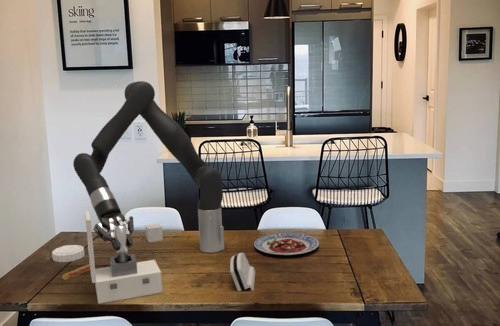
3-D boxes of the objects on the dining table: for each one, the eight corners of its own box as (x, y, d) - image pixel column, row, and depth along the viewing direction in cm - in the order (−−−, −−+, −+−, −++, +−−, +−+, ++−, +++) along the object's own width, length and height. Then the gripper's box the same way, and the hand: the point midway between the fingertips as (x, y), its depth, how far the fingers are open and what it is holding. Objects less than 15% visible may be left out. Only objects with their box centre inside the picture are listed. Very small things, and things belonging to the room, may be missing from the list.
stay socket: (134, 265, 168) (133, 253, 168) (137, 273, 161) (136, 261, 161) (110, 268, 166) (109, 257, 165) (112, 277, 159) (112, 265, 158)
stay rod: (127, 258, 165) (125, 223, 163) (129, 262, 162) (126, 226, 160) (116, 260, 164) (113, 224, 162) (117, 263, 161) (114, 227, 159)
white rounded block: (253, 291, 162) (241, 263, 160) (239, 296, 162) (228, 268, 161) (255, 271, 178) (245, 245, 177) (243, 275, 179) (232, 250, 177)
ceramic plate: (332, 249, 198) (332, 242, 198) (280, 264, 184) (280, 257, 184) (291, 233, 219) (291, 227, 219) (241, 246, 205) (241, 239, 205)
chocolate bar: (61, 279, 177) (60, 273, 177) (88, 268, 187) (88, 262, 187) (66, 281, 176) (65, 275, 176) (93, 269, 186) (93, 263, 185)
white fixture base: (155, 278, 174) (150, 203, 169) (162, 293, 162) (157, 212, 158) (91, 289, 167) (84, 210, 162) (94, 305, 155) (86, 220, 151)
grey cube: (159, 236, 221) (159, 223, 220) (162, 240, 215) (161, 226, 214) (146, 238, 219) (145, 225, 218) (148, 242, 213) (147, 228, 212)
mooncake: (53, 254, 203) (52, 246, 202) (84, 250, 206) (83, 242, 206) (51, 264, 192) (50, 255, 191) (84, 260, 195) (84, 251, 195)
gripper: (87, 201, 161) (107, 247, 154) (127, 194, 170) (148, 236, 163) (81, 214, 165) (100, 259, 159) (121, 206, 175) (140, 248, 168)
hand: (124, 247), depth 161 cm, fingers closed on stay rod, 3 cm apart
